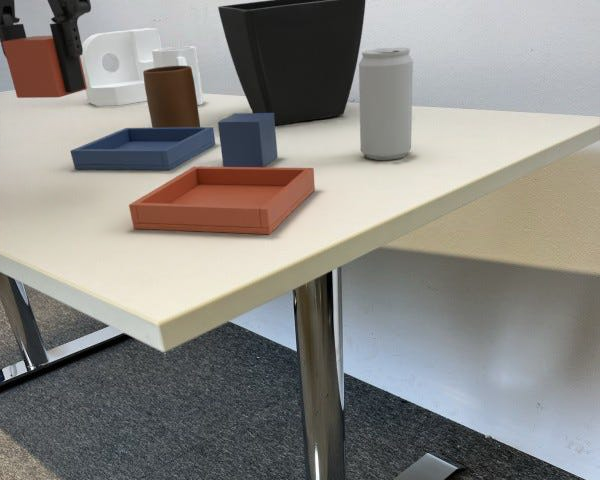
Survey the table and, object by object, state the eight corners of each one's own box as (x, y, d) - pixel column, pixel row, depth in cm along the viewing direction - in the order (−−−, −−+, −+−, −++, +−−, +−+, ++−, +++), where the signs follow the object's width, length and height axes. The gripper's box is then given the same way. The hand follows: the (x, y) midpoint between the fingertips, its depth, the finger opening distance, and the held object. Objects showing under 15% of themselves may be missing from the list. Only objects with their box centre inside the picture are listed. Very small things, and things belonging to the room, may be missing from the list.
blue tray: (74, 168, 89) (70, 150, 88) (129, 144, 100) (126, 127, 99) (169, 170, 85) (166, 150, 83) (215, 144, 96) (213, 126, 95)
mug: (144, 129, 110) (132, 67, 105) (187, 123, 112) (178, 61, 107) (159, 141, 100) (147, 73, 95) (206, 134, 103) (197, 67, 97)
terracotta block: (16, 97, 72) (1, 41, 69) (47, 89, 76) (34, 36, 73) (58, 97, 70) (45, 39, 67) (87, 89, 75) (75, 34, 72)
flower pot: (257, 133, 101) (244, 6, 92) (229, 114, 116) (215, 4, 107) (369, 117, 105) (368, -6, 96) (328, 101, 120) (324, -6, 111)
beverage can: (381, 164, 80) (381, 54, 73) (350, 155, 84) (348, 51, 78) (421, 154, 82) (424, 47, 76) (389, 147, 87) (390, 45, 80)
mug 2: (157, 104, 131) (147, 49, 126) (198, 99, 134) (190, 45, 128) (170, 112, 122) (160, 53, 117) (214, 106, 124) (206, 48, 119)
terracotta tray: (133, 228, 65) (128, 204, 64) (196, 187, 77) (193, 166, 75) (269, 234, 61) (267, 209, 60) (315, 189, 72) (313, 167, 71)
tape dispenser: (158, 91, 147) (147, 28, 140) (175, 96, 139) (164, 29, 132) (88, 102, 141) (73, 36, 134) (101, 107, 133) (86, 37, 126)
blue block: (223, 167, 84) (217, 122, 81) (239, 157, 88) (234, 113, 85) (263, 168, 82) (258, 121, 79) (277, 157, 86) (274, 112, 83)
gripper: (-124, -177, 60) (-38, 97, 73) (44, -206, 55) (105, 95, 68) (-64, -166, 66) (6, 86, 79) (93, -190, 61) (141, 84, 73)
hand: (52, 90), depth 73 cm, fingers closed on terracotta block, 5 cm apart
